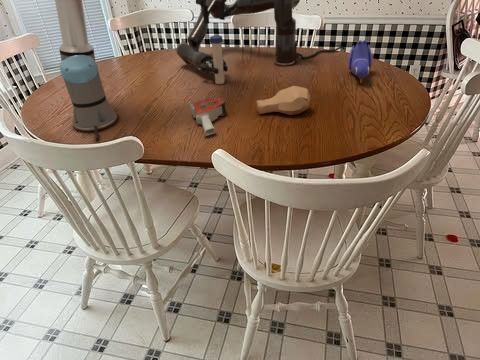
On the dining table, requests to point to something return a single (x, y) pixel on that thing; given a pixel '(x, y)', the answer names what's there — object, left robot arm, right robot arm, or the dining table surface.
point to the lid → (216, 39)
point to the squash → (286, 101)
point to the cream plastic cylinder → (218, 62)
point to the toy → (360, 59)
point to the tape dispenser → (207, 113)
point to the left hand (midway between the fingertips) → (214, 21)
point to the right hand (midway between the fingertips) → (222, 70)
